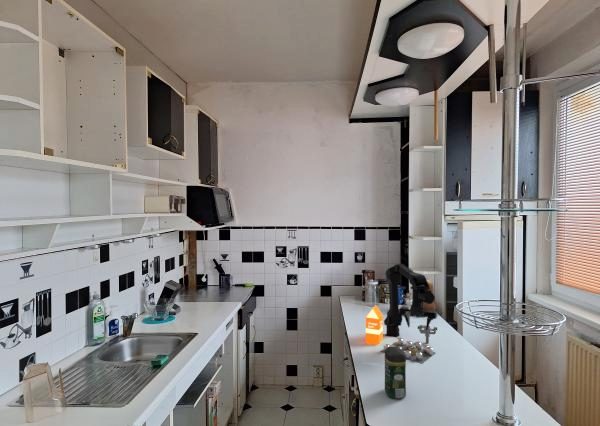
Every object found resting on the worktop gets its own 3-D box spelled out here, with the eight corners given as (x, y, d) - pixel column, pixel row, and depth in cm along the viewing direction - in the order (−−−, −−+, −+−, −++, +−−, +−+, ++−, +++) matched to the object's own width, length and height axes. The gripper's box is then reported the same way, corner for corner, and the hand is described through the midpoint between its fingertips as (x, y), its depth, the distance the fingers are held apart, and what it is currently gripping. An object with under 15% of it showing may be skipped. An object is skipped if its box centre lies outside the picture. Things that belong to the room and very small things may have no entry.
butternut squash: (418, 311, 274) (419, 276, 274) (437, 314, 267) (438, 278, 266) (412, 315, 263) (412, 279, 262) (431, 319, 255) (432, 282, 255)
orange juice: (382, 340, 216) (383, 305, 216) (379, 345, 208) (379, 309, 208) (369, 338, 220) (369, 303, 219) (365, 343, 212) (365, 307, 211)
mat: (379, 352, 198) (379, 351, 198) (395, 343, 212) (395, 342, 212) (422, 365, 183) (422, 363, 183) (436, 353, 197) (436, 352, 197)
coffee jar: (382, 388, 161) (382, 344, 160) (401, 388, 161) (401, 344, 160) (388, 400, 151) (388, 353, 150) (408, 400, 151) (408, 353, 150)
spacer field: (382, 352, 198) (382, 345, 198) (398, 342, 211) (398, 336, 211) (422, 363, 184) (422, 356, 183) (436, 352, 197) (436, 346, 197)
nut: (408, 354, 194) (408, 349, 194) (409, 351, 199) (409, 346, 199) (416, 356, 193) (417, 351, 192) (418, 352, 197) (418, 347, 197)
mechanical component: (437, 345, 208) (437, 327, 208) (417, 344, 210) (418, 326, 210) (436, 343, 211) (436, 326, 211) (417, 342, 213) (417, 324, 213)
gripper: (395, 300, 196) (395, 330, 197) (433, 305, 187) (433, 336, 188) (401, 295, 206) (401, 324, 206) (437, 299, 197) (437, 329, 197)
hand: (417, 328), depth 199 cm, fingers open, 9 cm apart
